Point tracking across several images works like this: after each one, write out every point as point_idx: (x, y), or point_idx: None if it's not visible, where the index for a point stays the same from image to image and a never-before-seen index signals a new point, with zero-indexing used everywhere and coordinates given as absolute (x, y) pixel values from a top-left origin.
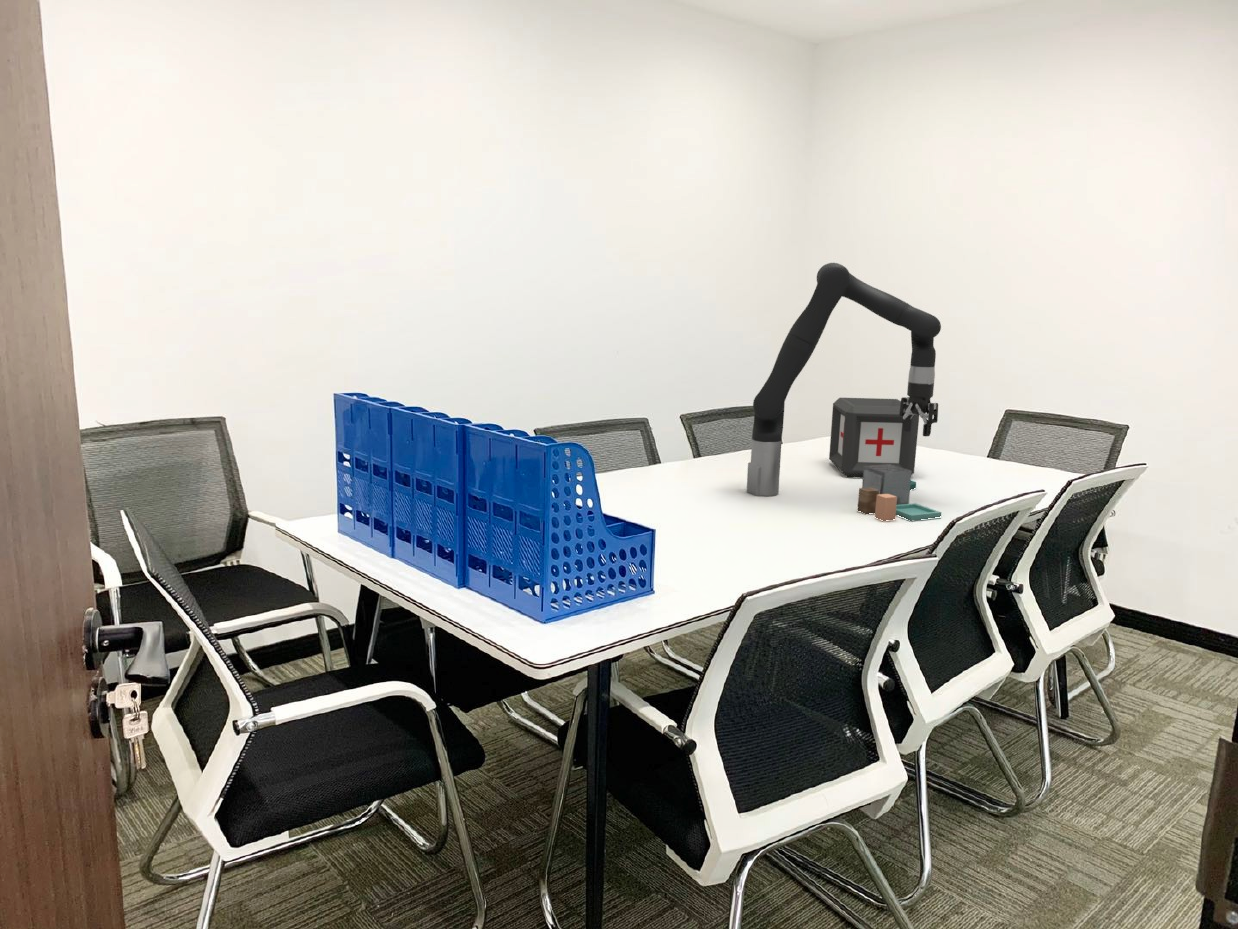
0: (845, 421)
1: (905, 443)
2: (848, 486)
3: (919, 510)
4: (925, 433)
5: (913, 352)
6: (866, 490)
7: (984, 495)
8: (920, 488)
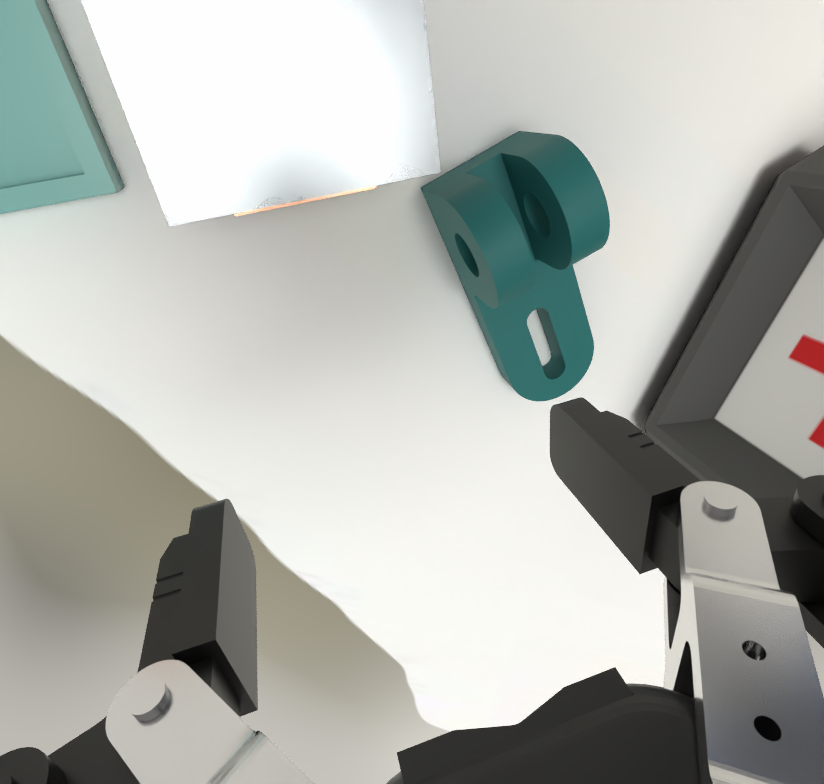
0: None
1: (775, 490)
2: (651, 66)
3: (5, 159)
4: (192, 542)
5: None
6: None
7: (370, 572)
8: (512, 405)
